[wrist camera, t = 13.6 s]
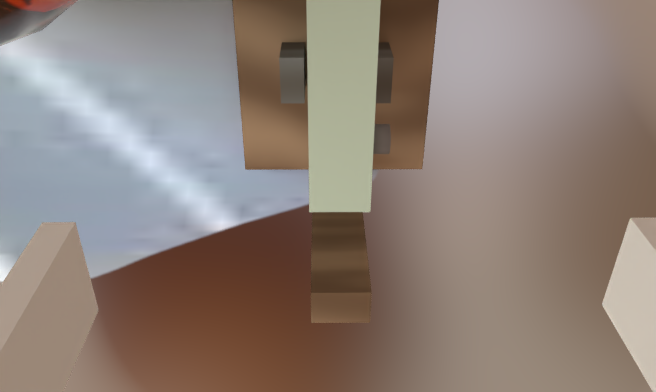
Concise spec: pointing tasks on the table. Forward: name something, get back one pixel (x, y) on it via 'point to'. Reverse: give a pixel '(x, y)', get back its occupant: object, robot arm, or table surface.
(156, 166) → the table surface
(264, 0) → the cabinet frame
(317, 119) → the beige flat panel
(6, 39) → the amphora vase
